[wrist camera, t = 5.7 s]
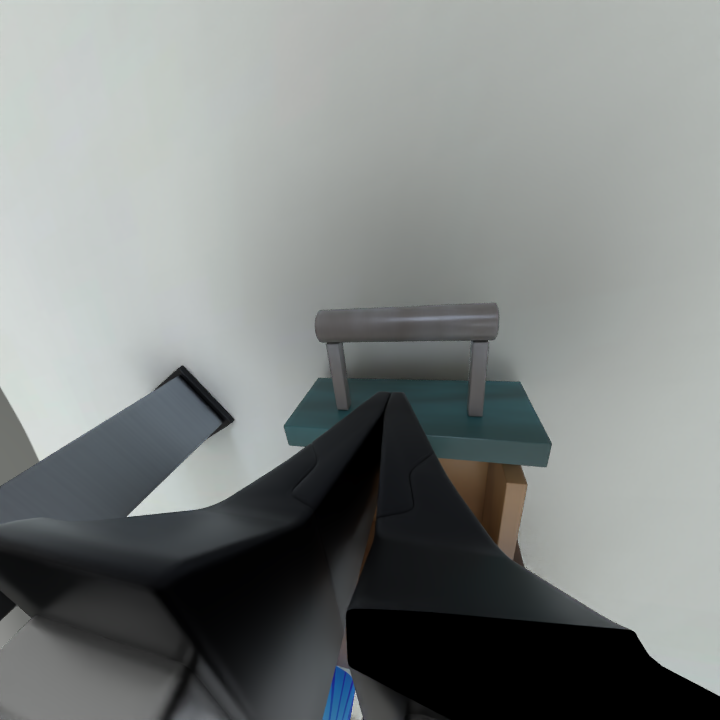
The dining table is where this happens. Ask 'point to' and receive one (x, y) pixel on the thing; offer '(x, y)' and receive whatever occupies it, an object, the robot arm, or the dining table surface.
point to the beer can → (340, 696)
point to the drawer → (439, 407)
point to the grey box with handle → (116, 459)
